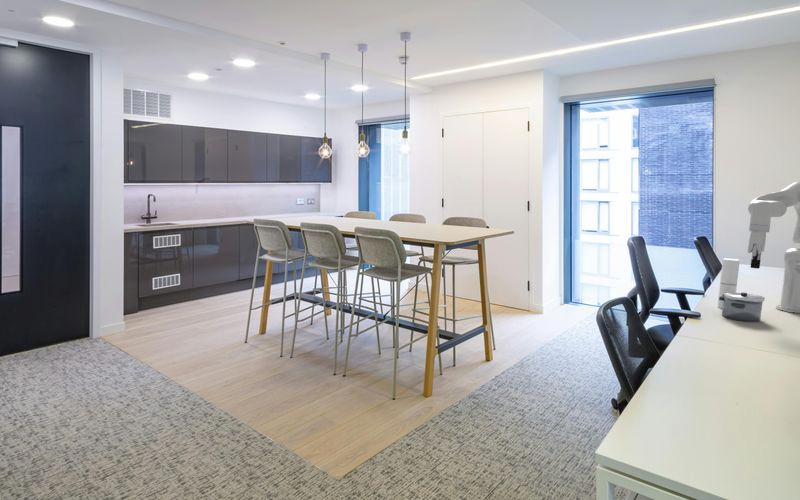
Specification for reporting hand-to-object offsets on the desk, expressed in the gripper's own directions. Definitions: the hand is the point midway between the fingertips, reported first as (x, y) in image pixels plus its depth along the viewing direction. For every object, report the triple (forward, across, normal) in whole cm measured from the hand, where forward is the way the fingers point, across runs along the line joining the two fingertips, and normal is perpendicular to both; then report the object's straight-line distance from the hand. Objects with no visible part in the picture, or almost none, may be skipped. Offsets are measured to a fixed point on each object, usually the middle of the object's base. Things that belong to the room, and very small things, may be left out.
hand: (755, 267), depth 227 cm
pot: (+24, +1, -3) cm, 24 cm away
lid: (+15, +1, -3) cm, 15 cm away
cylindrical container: (+25, -17, -13) cm, 33 cm away
